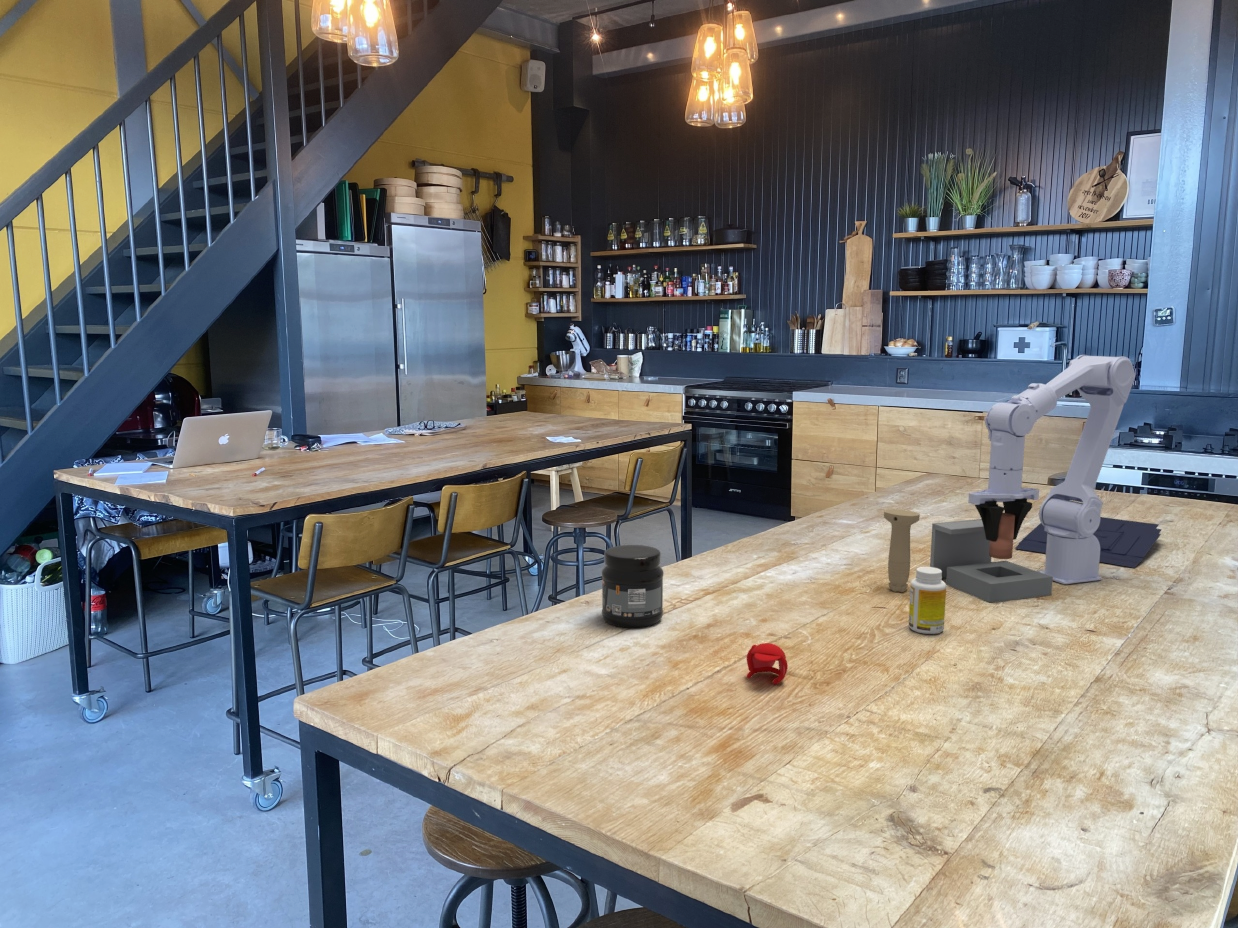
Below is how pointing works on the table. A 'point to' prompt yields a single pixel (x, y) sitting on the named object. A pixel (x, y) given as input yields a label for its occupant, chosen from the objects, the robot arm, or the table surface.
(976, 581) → the socket stand
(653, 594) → the supplement container
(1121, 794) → the table surface
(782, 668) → the red toy helmet
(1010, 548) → the peg
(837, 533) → the table surface
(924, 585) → the supplement bottle
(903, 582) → the handle
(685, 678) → the table surface
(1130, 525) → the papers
